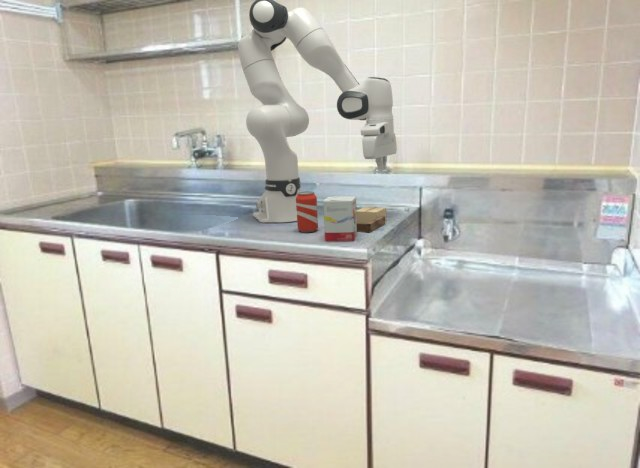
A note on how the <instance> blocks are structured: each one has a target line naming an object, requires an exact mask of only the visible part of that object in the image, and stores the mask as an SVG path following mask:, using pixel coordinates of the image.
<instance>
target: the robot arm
mask: <svg viewBox="0 0 640 468" xmlns="http://www.w3.org/2000/svg"><path fill="white" fill-rule="evenodd" d="M248 14H249V17H248V18H249V22H250V24H251V26H252V28H253V29H252V31H251V32H250V33H248V34H246V35H243V36H242V37H241V39H240V40H239V41H238V43H237V49H238V57H239V61H240V65H241V69H242V71H243V74H244V78H245V80H246V82H247V86H248V88H249V92H250V93H251V95H252V96H253V97H254V98H255V99H257V100H258V101H259V102H261V104H262V105H259V106H256V107H254V108H252V109H250V110H249V112H248V113H247V115H246V118H245V119H246V120H245V122H246V123H245V124H246V128H247V131H248V133H249V135H251V136H252V137H253V138H254V139H255V140H256V141H257V143H258V145H259V147H260V148H261V151H262V154H263V158H264V164H265V175H266V179H265V181H264V182H265V183H264V192H263V194H261V196H260V198H259V199H258V201H257V202H256V203H255V204H256V209H258V211H255V212H253V213H252V216H253V217H254V218H255V219H256V220H257V219H258V220H257V221H259V222H260V223H290V222H297V209H296V197H297V195H298V194H297V193H299V192H303V191H302V190H301V189H300V188H301V179H300V177H299V164H298V163H299V161H298V156H297V154H296V153H297V152H295V151H294V150H293V149H291V147H290V146H289V142H288V138H289V137H290V138H293V137H296V136H298V135H300V134H303V133H304V132H306V130H307V129H308V128H309V127H308V126H309V124H310V117H309V114H308V112H307V110H306V109H304V107H302V105H299V103H297V101H296V100H295V99H294V98H293V96H292V95H291V94H290V92H289V91H288V89H287V88H286V86H285V84H284V82H283V80H282V77H281V76H280V75H281V74H280V72H279V70H278V67H277V64H276V62H275V58H274V56H273V54H272V51H275V49H276V48H278V47H279V46H282V45H283V44H284V42H286V40H287V39H288V40H289V41H290V42H291V44H293V46H294V48H295V49H296V51H297V52H298V54H299V55H300V56H301V57H302V59H303V60H304V61H305V62H306V63H307V64H308V66H310V67H312V68H314V69H316V70H319V71H321V72H323V73H324V74H326V75H327V76H328V77H330V78H331V79H332V80H333V82H334V83H335V84H336V86H338V89H339V90H340V91H341V92H342V93H341V94H340V95H338V98H337V100H336V101H337V102H336V109H337V112H338V114H339V115H340V116H341V117H342V118H344V119H346V120H350V121H352V120H354V121H357V120H358V121H366V122H365V124H364V126H363V127H362V128H361V129H360V135H361V136H362V138H361V139H362V140H361V142H362V153H363V157H364V159H365V160H375V163H376V166H377V171H378V172H381V171H386V169H387V166H386V165H387V161H388V156H392V155H396V153H397V151H398V149H397V148H398V145H397V137H396V133H395V131H394V129H395V127H394V115H393V106H394V105H393V104H394V99H393V89H392V85H391V82H390V81H389V79H386V78H384V77H379V76H378V77H376V76H370V77H367V78H366V79H365V80H364V81H363V82H361V83H360V82H359V81H358V80H357V79H356V77H355V76H354V74H353V73H352V72H351V71H350V69H349V68H348V67H347V65H346V64H345V62H344V61H343V60H342V58H341V56H340V54H339V53H338V51H337V49H336V48H335V46H334V44H333V42H332V41H331V39H330V37H329V36H328V34H327V32H326V30H325V29H324V28H323V26H322V25H321V24H320V22H319V20H317V18H316V17H315V16H314V15H313V14H312V13H311V12H310V11H309V10H308V9H307V8H305V7H295V8H293V9H292V10H290V11H289V10H288V9H287V7H286V6H285V5H283V4H282V3H279V2H277V1H275V0H255V1H254V2H252V4H251V6H250V8H249V13H248Z"/></svg>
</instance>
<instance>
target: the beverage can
mask: <svg viewBox="0 0 640 468" xmlns="http://www.w3.org/2000/svg"><path fill="white" fill-rule="evenodd" d="M297 194H298V195H297V197H296V209H297V221H296V223H297V230H298V231H300V232H301V233H314V232H316V231H317V230H318V229H319V218H318V201H317V199H318V198H317V195H316V194H315V192H314V191H309V190H307V191H302V192H299V193H297Z"/></svg>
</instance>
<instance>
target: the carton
mask: <svg viewBox="0 0 640 468" xmlns="http://www.w3.org/2000/svg"><path fill="white" fill-rule="evenodd" d="M356 216H357V223H369V222H371V221H373V220H375V219H377V218H379V217H381V216H385V222H386V221H387V208H386V207H377V206H364V207H361V208H359V209H356Z"/></svg>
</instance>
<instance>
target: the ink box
mask: <svg viewBox="0 0 640 468" xmlns="http://www.w3.org/2000/svg"><path fill="white" fill-rule="evenodd" d="M322 204H323V221H324V222H323V224H324V225H323V226H324V241H325V242H354V241H355V239H356V238H357V235H358V232H357V216H356V211H357V196H356V195H353V196H352V195H351V196H349V195H348V196H345V195H344V196H341V195H335V196H327V197H325V199H324V200H323V202H322Z"/></svg>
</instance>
